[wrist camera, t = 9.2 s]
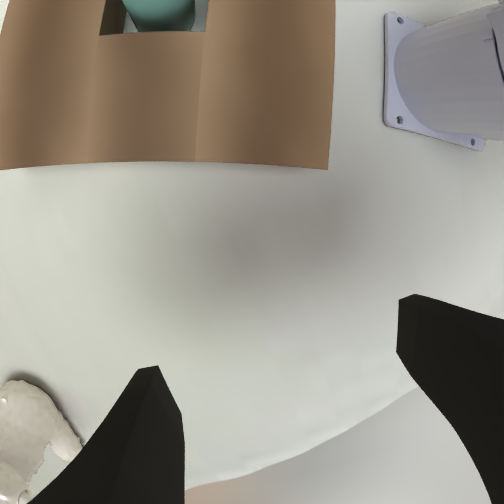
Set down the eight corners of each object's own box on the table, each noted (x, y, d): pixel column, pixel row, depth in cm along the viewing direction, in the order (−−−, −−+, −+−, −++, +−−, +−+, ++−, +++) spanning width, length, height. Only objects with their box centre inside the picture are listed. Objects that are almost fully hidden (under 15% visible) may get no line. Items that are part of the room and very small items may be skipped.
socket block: (310, -63, 13) (331, -94, 9) (300, 164, 17) (327, 169, 14) (65, -61, 10) (46, -89, 6) (24, 164, 15) (-13, 171, 11)
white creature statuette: (-3, 419, 20) (-43, 512, 9) (-20, 351, 18) (-88, 454, 6) (85, 451, 22) (65, 560, 11) (82, 389, 20) (43, 526, 9)
